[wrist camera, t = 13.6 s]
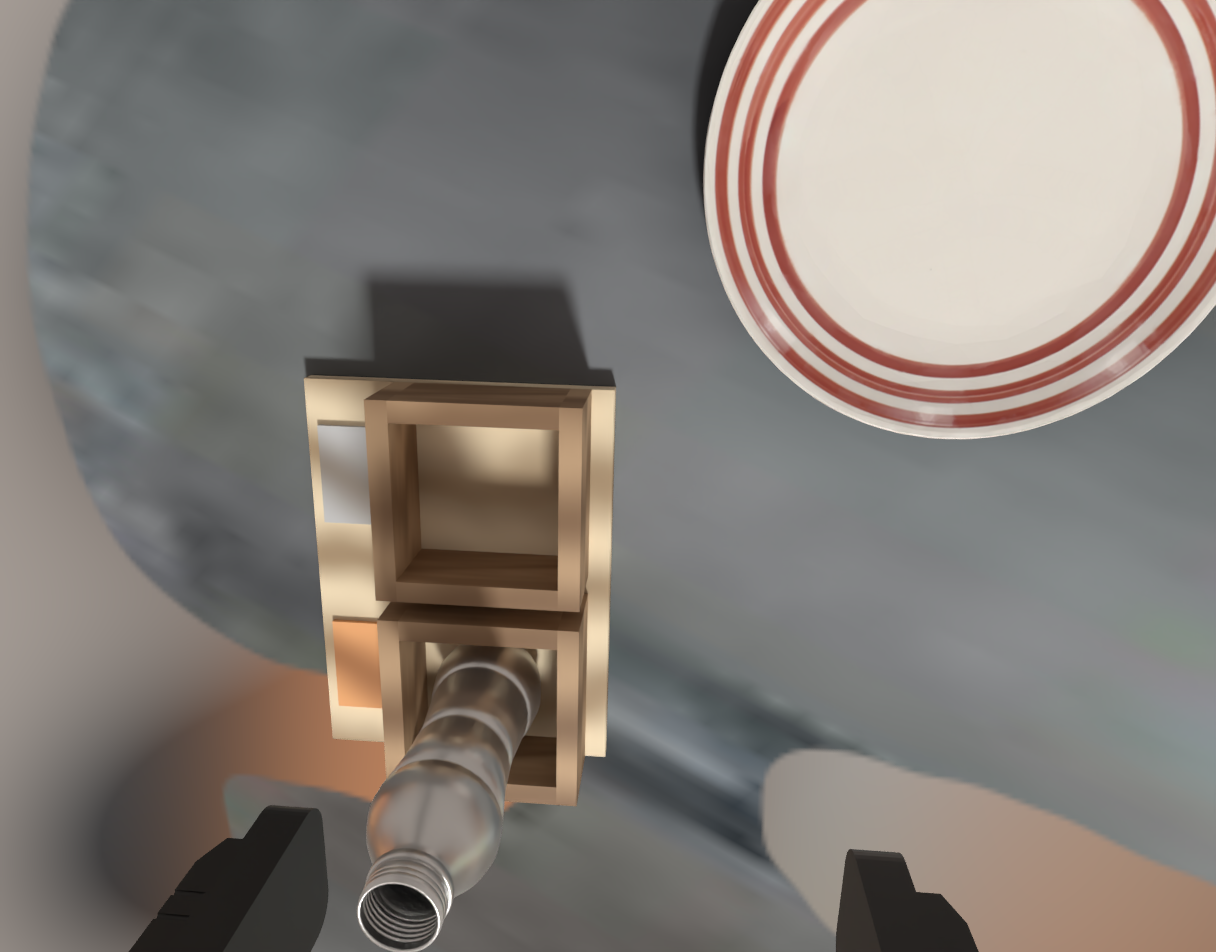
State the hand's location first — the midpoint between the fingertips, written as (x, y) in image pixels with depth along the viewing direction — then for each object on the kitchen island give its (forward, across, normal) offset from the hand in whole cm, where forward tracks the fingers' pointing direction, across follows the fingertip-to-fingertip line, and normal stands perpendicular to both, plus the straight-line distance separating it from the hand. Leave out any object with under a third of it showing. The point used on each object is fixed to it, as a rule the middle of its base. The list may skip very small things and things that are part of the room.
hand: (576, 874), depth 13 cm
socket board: (+38, +11, +12) cm, 41 cm away
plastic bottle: (+37, +9, +18) cm, 42 cm away
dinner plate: (+39, -16, -12) cm, 43 cm away
